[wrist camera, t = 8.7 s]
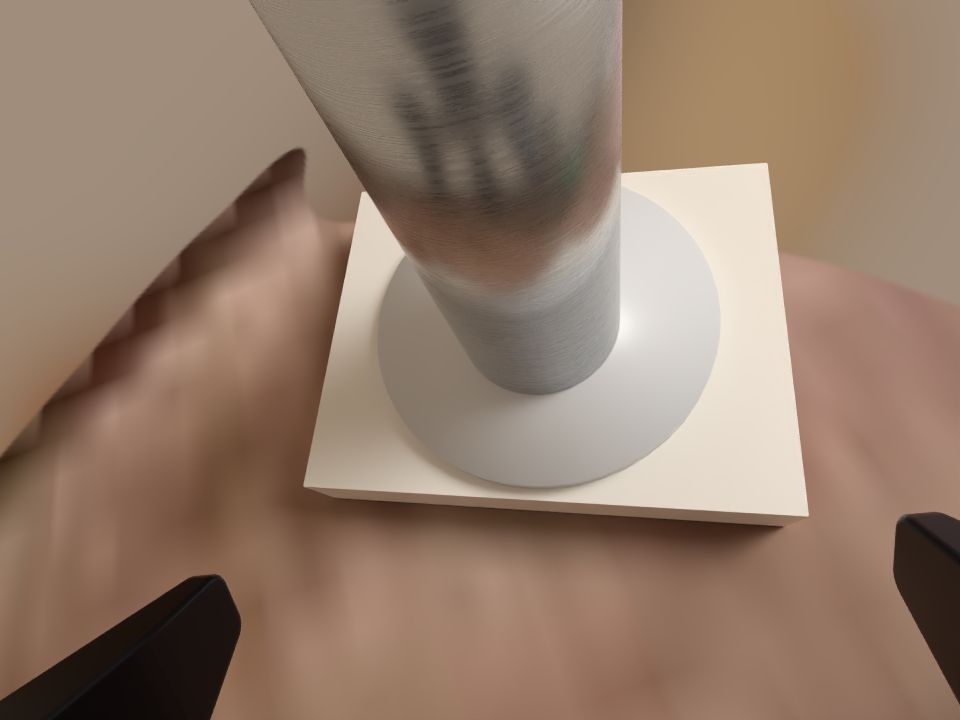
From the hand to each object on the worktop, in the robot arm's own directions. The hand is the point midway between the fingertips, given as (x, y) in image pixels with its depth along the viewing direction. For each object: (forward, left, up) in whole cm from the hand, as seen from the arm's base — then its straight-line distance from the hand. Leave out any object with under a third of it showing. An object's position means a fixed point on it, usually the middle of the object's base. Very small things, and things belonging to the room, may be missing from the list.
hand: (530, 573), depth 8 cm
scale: (+8, +1, -10) cm, 13 cm away
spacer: (+7, +1, -7) cm, 11 cm away
